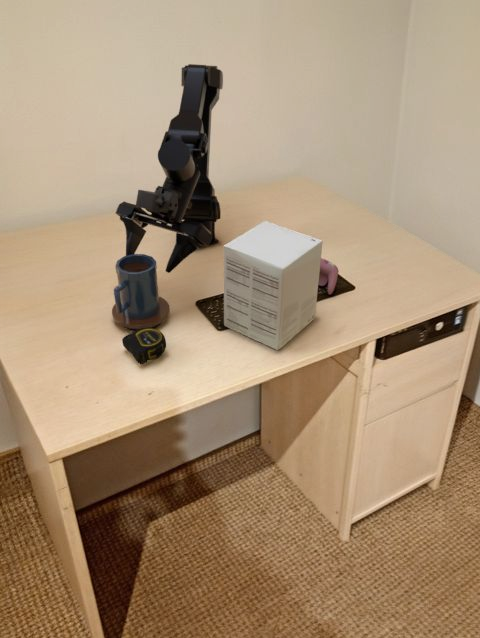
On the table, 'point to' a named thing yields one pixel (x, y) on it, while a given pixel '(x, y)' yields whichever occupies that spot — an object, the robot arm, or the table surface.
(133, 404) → the table surface
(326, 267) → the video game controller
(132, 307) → the mug
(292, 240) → the supplement box
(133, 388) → the table surface
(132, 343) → the tape measure
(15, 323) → the table surface
